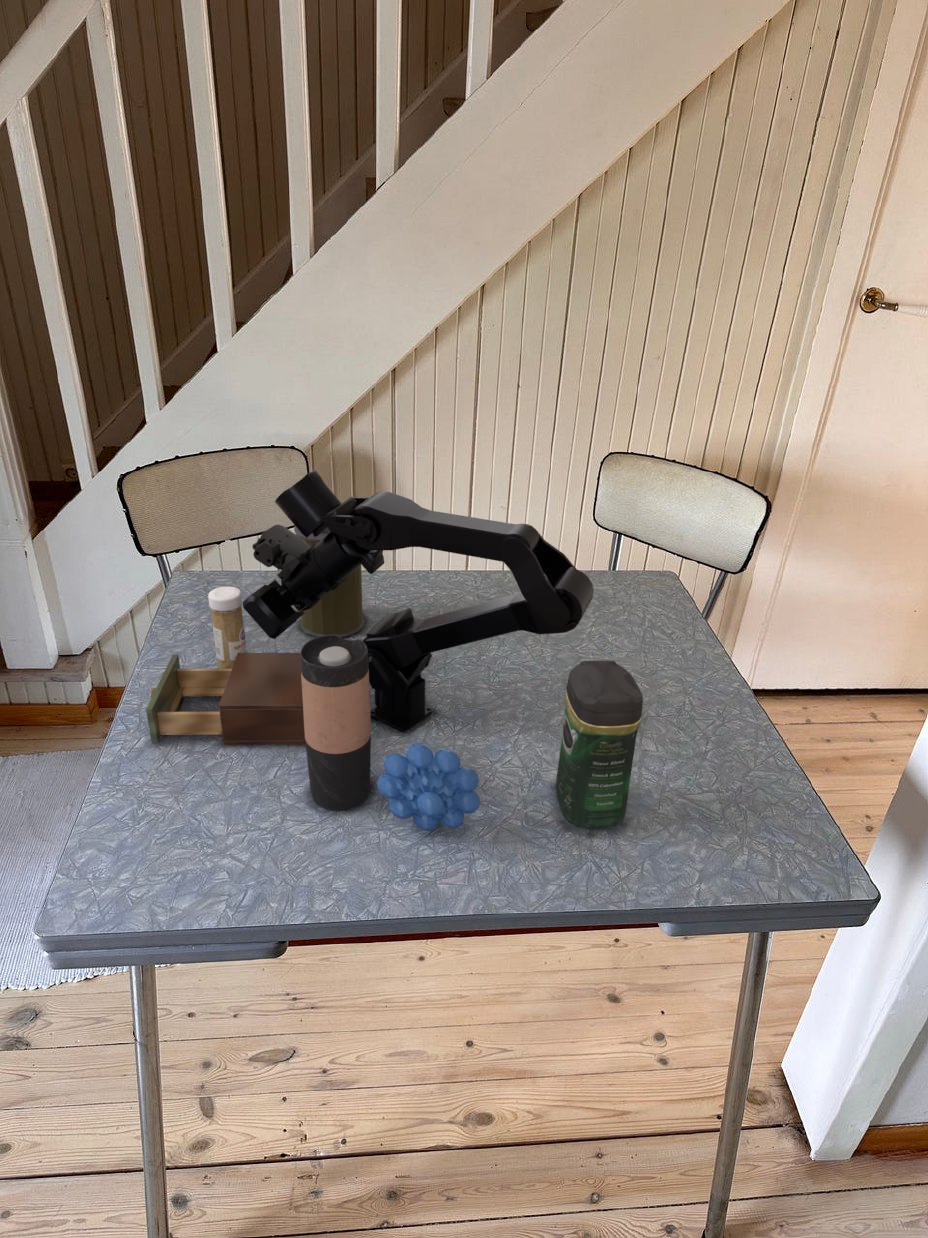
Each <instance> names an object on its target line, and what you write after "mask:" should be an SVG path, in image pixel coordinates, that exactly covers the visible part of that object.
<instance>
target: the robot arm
mask: <svg viewBox="0 0 928 1238" xmlns="http://www.w3.org/2000/svg"><path fill="white" fill-rule="evenodd" d="M274 503H275V504H276V505H277V506H278V507H279V509H280V510H281V511H282V513H284V515H285V516H286V517H287V518H288V519H289V521H290V522H291V523H292V524H293V525H294V526H296V527H297V529H298V530H299V531H300V532H301V533H302V534H303V536H305V537H306V538H307V537H308V536H310V535H311V534H312V533H313V535H314V536H315V537H317V536H318V535H320V534H321V533H322V532H323V531H325V530H326V529H327V528H328V529H329V530H330V531H331V532H330V533H328V534H327V535H326V536H325V537H324V538H323V539H322V540H321V541H320V542H319V543H318V542H317V543H315V544H314V545H313V546H312V547H311V546H309V545H308V544H307V543H306V542H305V541H304V540H303V539H302V538H300V537H299V536H297V535H296V533H295V532H293V531H291V530H290V529H288V528H287V527H285V526H284V525H281V524H275V525H273V526H271V527H269V528H268V529H266V530H264V531H263V532H262V533H261V534H260V537H259V538H258V539H257V541H256V542H255V543H253V544H252V547H251V548H252V550H253V553H252V555H253V557H254V559H255V560H256V561H257V562H259V563H261V564H262V565H263V566H265V567H267V568H271V567H274V568H275V569H278V570H279V573H277V574H276V576H277V577H278V579H280V582H281V583H279V582H278V581H277V579H274V580H272V581H271V582H270V583H269V584H263V585H262V586H261V587H260V588H258V589H257V590H255V591H254V592H253V593H251V594H249V596H248V597H246V598H245V599H244V600H243V601H242V608H243V609H244V611H246V612H247V614H248V615H249V616H250V617H251V618H252V619H253V621H254V622H255V623H256V625H258V627H260V628H261V630H262V631H263V632H264V633H265V634H266V635H267V637H268V638H269V639H274V640H275V639H277V638H278V637H279V636H280V635H282V634H283V633H284V632H285V631H286V630H288V629H289V628H290V627H291V626H293V624H295V623H296V622H297V621H298V620H299V619H300V618H302V617H301V616H302V615H303V614H305V613H304V612H303V611H305V610H308V609H311V608H312V607H313V606H314V605H315V604H317V603H318V602H319V600H320V599H321V598H322V597H323V596H324V595H326V594H327V593H328V592H329V591H330V590H331V591H333V590H334V589H335V588H337V587H338V586H339V585H340V584H341V583H343V582H344V581H345V580H346V579H347V578H348V575H349V574H350V573H352V572H353V571H354V570H355V569H356V568H357V567H359V566H360V565H361V567H363V568H364V569H365V570H366V572H367V573H368V574H370V575H373V574H374V573H375V572H376V571H377V570H379V569H380V568H381V567H382V566H383V565H384V564H385V557H384V554H383V553H384V551H396V550H401V549H407V548H408V549H409V548H422V549H423V548H424V549H428V550H434V551H439V552H445V553H451V554H456V555H457V554H458V555H462V556H468V557H474V558H480V559H485V560H489V561H497V562H500V563H504V564H505V566H506V567H507V568H508V569H509V571H510V572H511V573H512V576H513V577H514V580H515V582H516V584H517V586H518V588H519V590H520V591H518V592H516V593H513V594H509V595H506V596H502V597H498V598H495V599H492V600H488V601H484V602H480V603H478V604H474V605H471V606H466V607H462V608H459V609H455V610H452V611H448V612H444V613H441V614H437V615H434V616H431V617H426V618H420V617H417V616H414V614H413V611H412V608H411V607H406V608H405V609H403V610H401V611H399V612H387V613H386V614H385V615H384V616H383V617H382V618H381V619H380V620H379V621H378V622H377V623H376V624H375V625H374V626H373V627H372V628H371V629H370V630H369V631H367V633H366V637H365V638H363V640H362V641H363V642H364V643H365V645H366V646H367V649H368V664H369V686H370V687H371V689H372V690H374V706H375V708H373V709H371V710H370V719H371V718H372V719H373V720H374V721H375V720H376V721H377V722H380V723H381V724H383V725H386V726H388V727H389V728H392V729H393V730H395V731H398V732H399V733H406V732H407V731H409V730H410V729H412V728H413V727H414V726H416V725H417V724H419V723H420V722H422V721H423V720H424V719H426V718H427V717H429V716H430V715H431V714H432V713H433V708H431V707H429V706H427V705H426V678H423V677H422V672H423V671H424V670H425V669H426V668H427V667H428V666H429V664H430V662H431V659H432V657H433V654H432V653H435V652H439V651H443V650H447V649H451V648H455V647H459V646H463V645H466V644H470V643H471V644H472V643H475V642H478V641H484V640H487V639H491V638H495V637H499V636H503V635H507V634H511V633H514V632H519V631H523V632H526V633H527V632H528V633H532V634H535V635H551V634H564V633H568V632H571V631H573V630H575V629H576V627H577V626H579V623H580V622H581V620H582V618H583V616H584V615H585V612H586V611H587V609H588V608H589V606H590V604H591V602H592V600H593V599H594V592H595V591H594V585H593V583H592V581H591V579H590V578H589V576H588V575H587V574H586V573H584V572H583V571H582V570H579V569H577V567H576V566H575V565H574V564H573V563H572V562H571V560H570V559H569V558H568V556H567V555H565V554H564V553H563V552H562V551H561V550H559V549H558V548H556V547H555V546H554V545H552V544H551V543H549V542H548V541H547V540H545V539H544V537H543V536H542V535H541V534H540V533H539V531H538V530H537V528H535V527H534V526H532V525H531V524H529V523H510V522H503V521H498V520H492V519H485V518H480V517H473V516H467V515H460V514H455V513H449V512H443V511H436V510H431V509H428V508H426V507H422V506H421V505H419V504H418V503H417V502H415V501H414V500H413V499H410V498H408V497H405V496H402V495H399V494H396V493H394V492H391V491H378V492H376V493H374V494H373V495H370V496H350V497H349V498H347V499H345V500H344V501H342V502H341V501H340V499H339V498H338V497H337V495H336V494H335V493H334V492H333V491H332V490H331V489H330V487H328V485H327V484H326V483H325V481H324V479H323V477H322V476H321V475H320V474H319V472H317V470H312V471H309V472H308V473H307V474H305V475H304V476H303V477H302V478H301V479H300V480H298V481H297V482H295V483H294V484H293V485H292V486H290V487H288V488H286V490H284V491H282V492H281V493H280V494H279V496H277V498H276V499H275V500H274Z"/></svg>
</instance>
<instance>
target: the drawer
mask: <svg viewBox="0 0 928 1238" xmlns="http://www.w3.org/2000/svg"><path fill="white" fill-rule="evenodd" d="M231 670H232V669H219V668H181V665H180V658H179V654H171V657H170V659H169V661H168V663H167V665H166V667H165V669H164V671H163V673H162V676H161V678H160V679H159V681H158V683H157V686H156V687H153V688H152V689H151V693H150V699H149V702H148V705H147V706H146V708H145V713H146V718H147V724H148V730H149V736H150V742H151V744H152V745H154V744H155V745H156V744H159V742H160V740H161V738H162V736H198V735H199V736H206V735H208V736H210V735H211V736H213V735H214V736H215V735H217V736H218V735H221V736H223V734H222V727H221V719H220V711H177V710H178V708H179V707H180V705H181V702H182V699H183V697H222V695H223V693H224V690H225V687H226V684H227V681H228V679H229V676H230V673H231Z"/></svg>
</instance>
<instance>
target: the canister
mask: <svg viewBox="0 0 928 1238" xmlns="http://www.w3.org/2000/svg"><path fill="white" fill-rule="evenodd" d="M293 530H294V534H296V535H297V536H299V537H300V538H302V539H303V540H304V541H305V542H306V543H307V544H308V545H309V546H311V547H312V546H313V545H314V544H315V543H317V542H318V543H319V542H320V541H321V540H322V539H323V538H324V537H325V536H326V535H327V534H328V533H330V532H331V531H330V530H329V529H328V528H327V529H326V530H325V531H323V532H322V533H321V534H320V535H318V536H317V537H315V536H314V535H313V533H312V534H311V535H310V536H308V537H307V538H306V537H305V536H303V534H302V533H301V532H300V531H299V530H298V529H297V527H296V526H295V525H294V527H293ZM362 574H363V573H362V564H361V565H360V566H359V567H357V568H356V569H355V570H354V571H353V572H352V573H350V574H349V575H348V578H347V579H346V580H345V581H344V582H343V583H341V584H340V585H339V586H338V587H337V588H335V589H334V590H333V591H331V590H330V591H329V592H328V593H327V594H326V595H324V596H323V597H322V598H321V599H320V600H319V602H318V603H317V604H315V605H314V606H313V607H312V608H311V609H308V610H305V611H303V612H304V613H305V614H303V615H302V616H301V617H300V618H301V620H300V627H301V630H302V631H304V632H305V633H306V634H308V635H309V636H312V637H315V638H317V637H320V636H325V635H333V634H335V635H339V636H340V637H341V638H343V639H344V638H346V637H349V636H352V635H353V634H356V633H358V632H359V631H360V630H362V628H363V627H364V624H365V618H364V615H363V614H364V613H363V579H362V578H363V577H362Z"/></svg>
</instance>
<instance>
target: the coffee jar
mask: <svg viewBox="0 0 928 1238" xmlns="http://www.w3.org/2000/svg"><path fill="white" fill-rule="evenodd" d="M564 704H565V705H564V719H563V727H562V735H561V743H560V751H559V757H558V765H557V770H556V771H557V772H556V778H555V796H556V799H557V802H558V805H559V808H560V811H561V813H562V815H563V817H564V818H565V820H566V821H567V823H569V824H570V825H571V826H575V827H577V828H581V829H587V830H593V831H594V830H597V831H598V830H599V831H600V830H606V829H610V828H614V827H616V826H619V825H620V824H622V822H624V820H625V817H626V813H627V807H628V806H627V805H628V800H629V792H630V784H631V777H632V769H633V762H634V757H635V750H636V744H637V743H636V742H637V735H638V731H639V728H640V725H641V723H642V722H641V721H642V716H643V704H644V695H643V693H642V691H641V689H640V687H639V685H638V683H637V681H636V680H635V679H634V676H633V675H632V674H631V673H630V672H629V671H628V670H627V669H626V668H625V667H623V666H621V665H620V664H618V663H617V662H616V661H615V660H603V659H601V660H599V659H597V660H596V659H595V660H582V661H580V663H578V664H576V665H575V666H574V667H573V668H572V669H571V671H570V672H569V674H568V678H567V682H566V688H565V703H564Z"/></svg>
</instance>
